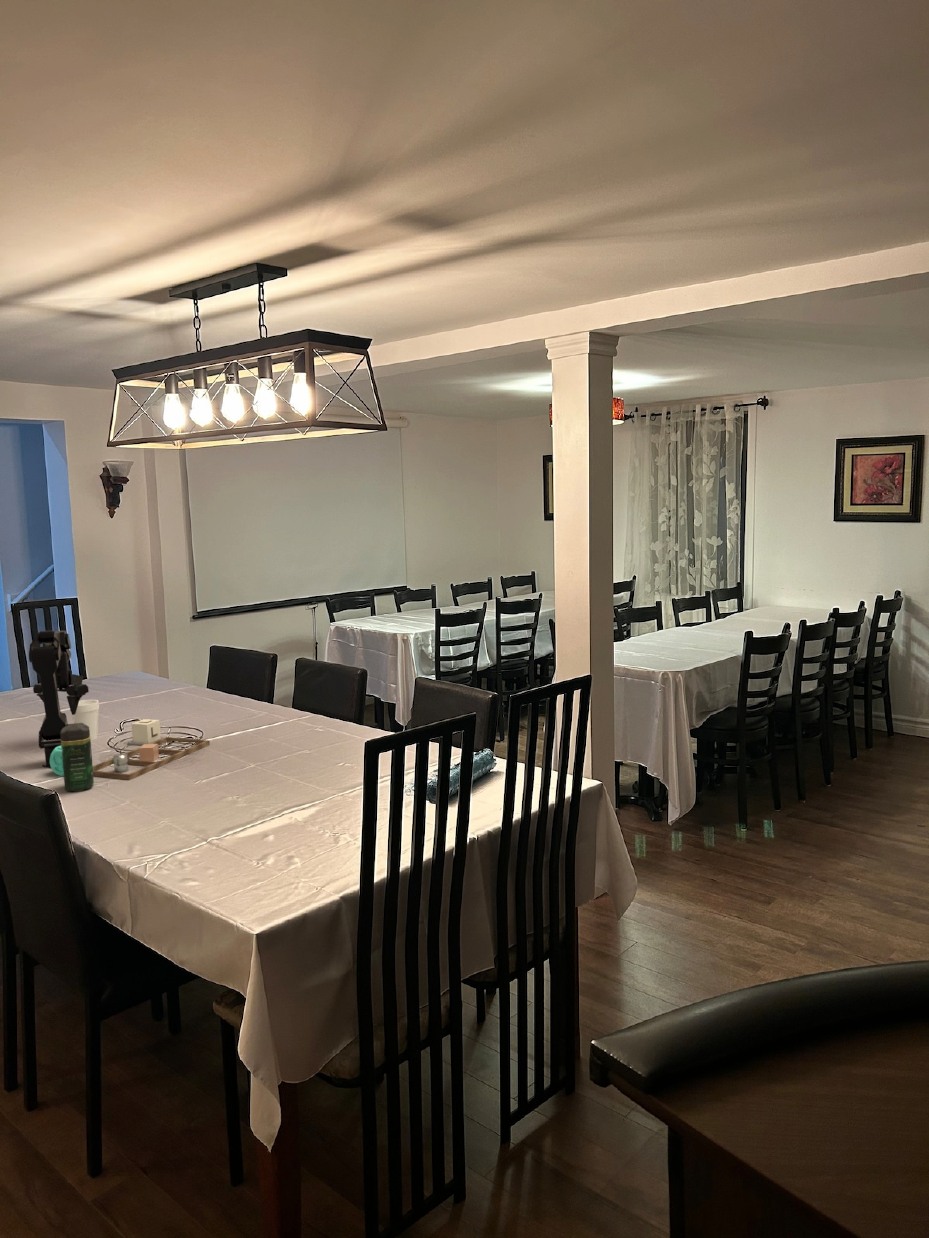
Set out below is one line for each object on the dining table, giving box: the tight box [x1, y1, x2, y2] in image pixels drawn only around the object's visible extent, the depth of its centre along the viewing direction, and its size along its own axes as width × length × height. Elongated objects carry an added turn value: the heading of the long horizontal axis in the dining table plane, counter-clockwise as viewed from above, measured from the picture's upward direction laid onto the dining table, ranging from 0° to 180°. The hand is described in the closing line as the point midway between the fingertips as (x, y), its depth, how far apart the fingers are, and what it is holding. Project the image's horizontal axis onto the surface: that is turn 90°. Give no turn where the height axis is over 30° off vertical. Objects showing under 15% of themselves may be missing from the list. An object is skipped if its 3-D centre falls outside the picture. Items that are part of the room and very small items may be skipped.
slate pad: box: [126, 736, 164, 747], centre depth 310 cm, size 9×9×1 cm
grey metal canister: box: [112, 752, 129, 774], centre depth 277 cm, size 4×4×5 cm
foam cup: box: [69, 699, 100, 741], centre depth 316 cm, size 10×9×13 cm
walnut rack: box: [93, 736, 211, 781], centre depth 289 cm, size 39×18×2 cm, turn 160°
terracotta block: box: [138, 744, 160, 762], centre depth 289 cm, size 4×4×4 cm
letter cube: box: [130, 718, 162, 743], centre depth 309 cm, size 6×7×7 cm
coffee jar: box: [60, 722, 94, 792], centre depth 261 cm, size 10×8×19 cm
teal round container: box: [50, 746, 64, 777], centre depth 277 cm, size 8×8×8 cm
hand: (63, 713), depth 303 cm, fingers open, 9 cm apart
